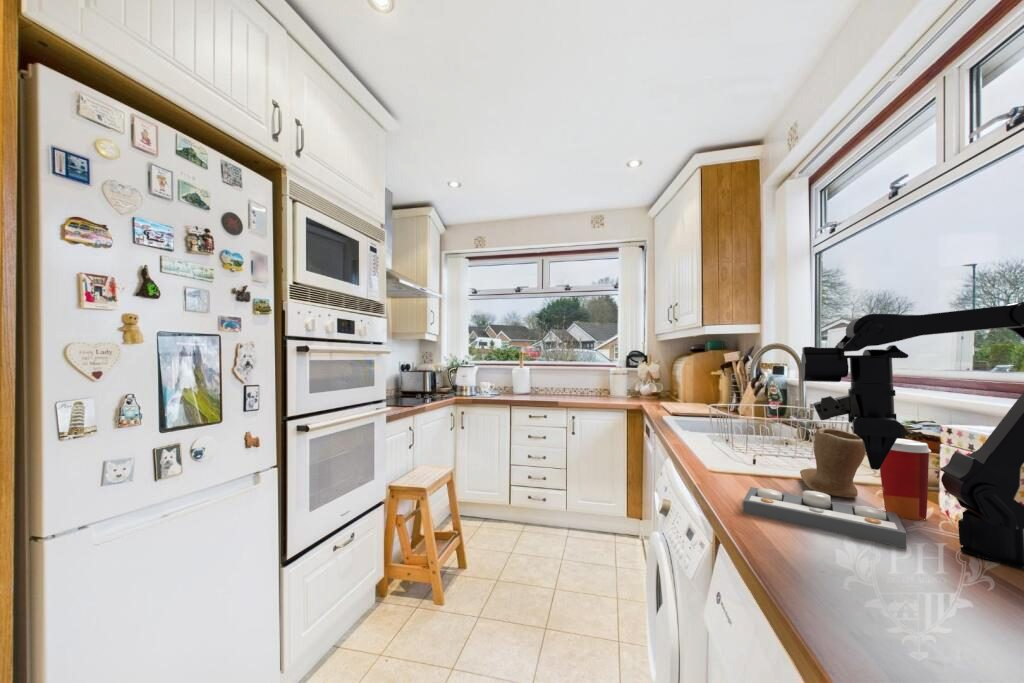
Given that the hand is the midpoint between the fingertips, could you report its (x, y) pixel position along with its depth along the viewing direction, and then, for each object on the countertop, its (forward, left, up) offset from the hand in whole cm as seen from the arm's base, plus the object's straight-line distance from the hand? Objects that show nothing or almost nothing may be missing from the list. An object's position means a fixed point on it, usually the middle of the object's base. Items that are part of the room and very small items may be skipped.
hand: (874, 469), depth 70 cm
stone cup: (+16, -22, -12) cm, 30 cm away
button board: (+9, +1, -12) cm, 15 cm away
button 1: (+17, +3, -11) cm, 20 cm away
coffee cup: (+2, -18, -12) cm, 22 cm away
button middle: (+10, 0, -9) cm, 13 cm away
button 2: (+2, -4, -11) cm, 12 cm away
